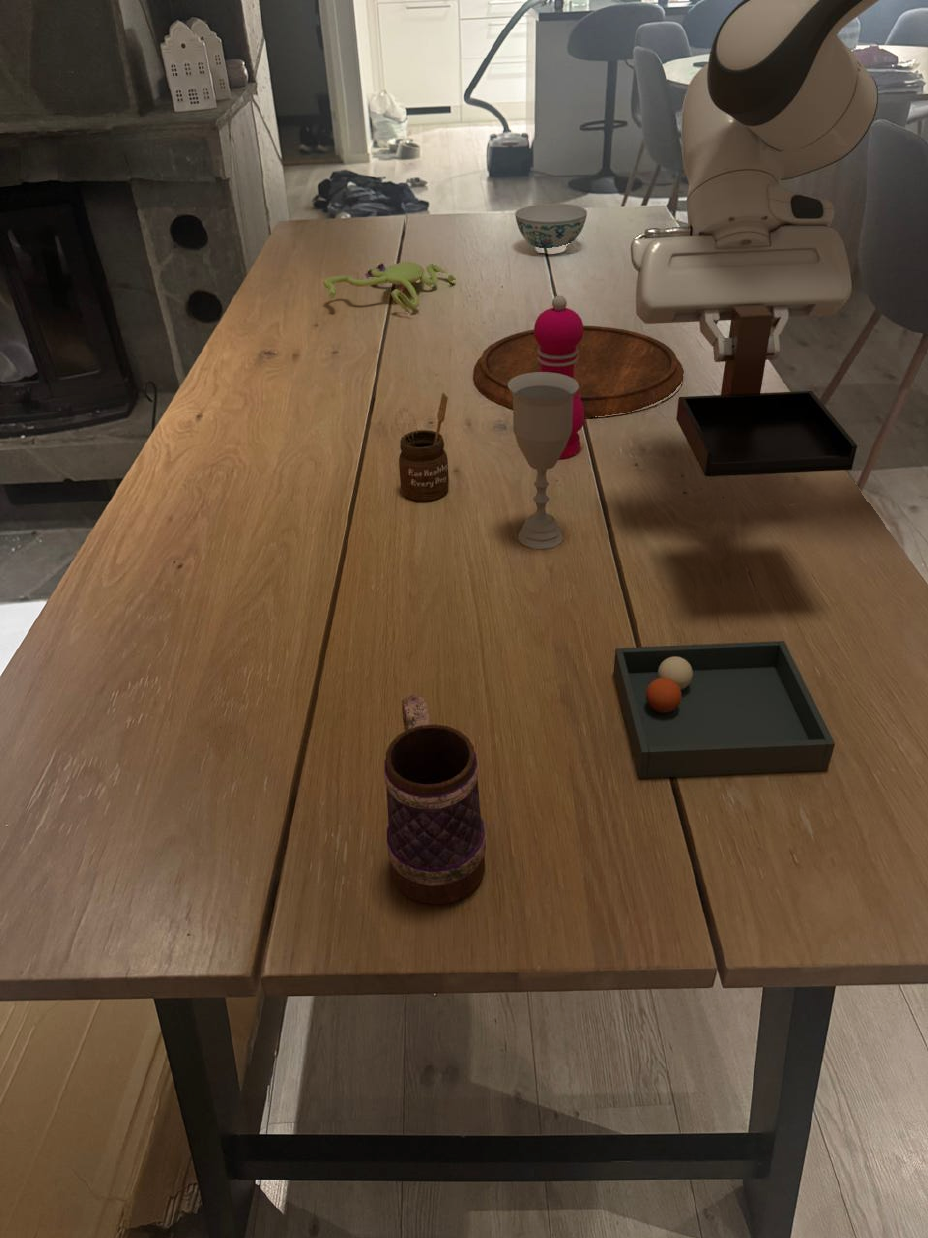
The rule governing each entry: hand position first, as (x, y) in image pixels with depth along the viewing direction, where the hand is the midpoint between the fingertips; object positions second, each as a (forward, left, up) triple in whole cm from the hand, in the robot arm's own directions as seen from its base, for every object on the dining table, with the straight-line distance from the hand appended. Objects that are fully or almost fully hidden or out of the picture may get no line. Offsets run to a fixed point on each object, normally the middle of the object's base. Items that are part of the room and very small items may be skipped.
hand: (747, 358), depth 89 cm
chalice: (+19, -4, -22) cm, 29 cm away
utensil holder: (+32, -16, -22) cm, 42 cm away
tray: (+7, +27, -21) cm, 35 cm away
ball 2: (+12, +26, -19) cm, 34 cm away
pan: (0, +5, -6) cm, 8 cm away
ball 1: (+10, +23, -19) cm, 32 cm away
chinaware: (+6, -121, -22) cm, 123 cm away
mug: (+31, +40, -22) cm, 55 cm away
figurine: (+39, -93, -22) cm, 103 cm away
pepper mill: (+15, -26, -22) cm, 37 cm away
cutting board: (+9, -51, -21) cm, 56 cm away
